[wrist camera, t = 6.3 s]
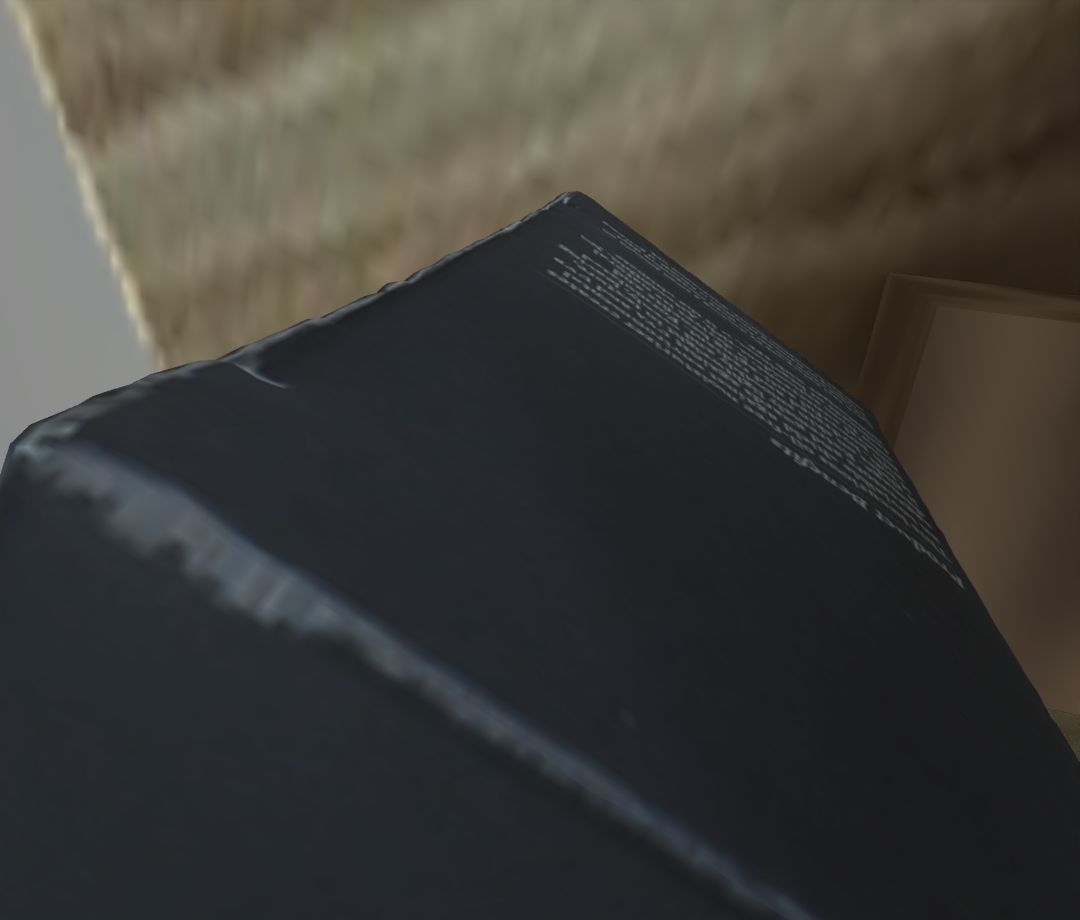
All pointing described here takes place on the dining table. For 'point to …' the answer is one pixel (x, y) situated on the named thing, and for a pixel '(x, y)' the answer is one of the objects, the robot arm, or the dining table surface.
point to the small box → (507, 627)
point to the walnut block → (992, 449)
